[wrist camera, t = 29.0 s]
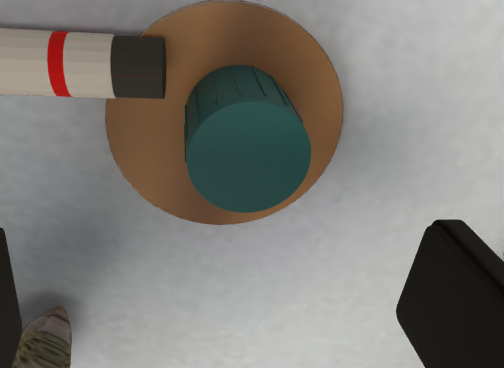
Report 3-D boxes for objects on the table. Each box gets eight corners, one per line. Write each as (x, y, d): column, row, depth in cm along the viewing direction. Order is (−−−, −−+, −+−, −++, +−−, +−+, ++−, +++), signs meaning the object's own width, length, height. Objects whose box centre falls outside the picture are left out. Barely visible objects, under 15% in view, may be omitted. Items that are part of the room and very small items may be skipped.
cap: (307, 118, 17) (336, 163, 14) (231, 179, 18) (242, 234, 15) (243, 40, 16) (259, 71, 12) (161, 112, 16) (157, 158, 13)
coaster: (111, 215, 19) (109, 223, 19) (102, -15, 15) (98, -12, 14) (315, 219, 21) (319, 226, 20) (362, 13, 16) (368, 16, 16)
